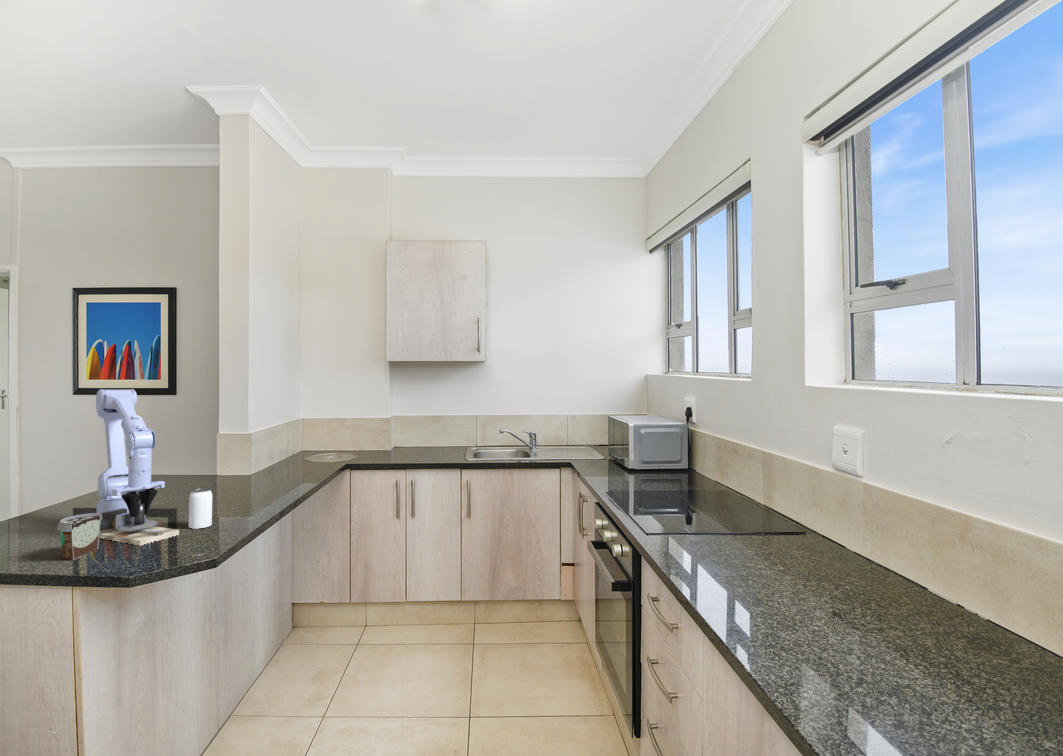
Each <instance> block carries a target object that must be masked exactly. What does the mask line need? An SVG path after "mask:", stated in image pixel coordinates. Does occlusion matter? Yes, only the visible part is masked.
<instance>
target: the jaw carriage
mask: <svg viewBox="0 0 1063 756" xmlns="http://www.w3.org/2000/svg"><path fill="white" fill-rule="evenodd" d="M157 525H158V521H157V520H151V519H147V515H145V503H140V502H139V504H138V515H137V517H130V513H129V512H128V513H124V514H119V515H116V529H117V530H123V531H129V532H131V531H135V530H139V529H143V528H147V527H151V526H157Z"/></svg>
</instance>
